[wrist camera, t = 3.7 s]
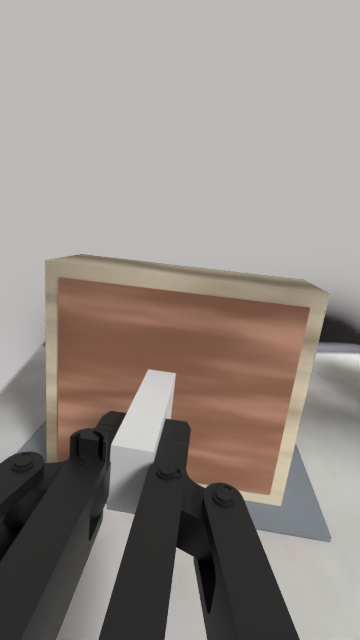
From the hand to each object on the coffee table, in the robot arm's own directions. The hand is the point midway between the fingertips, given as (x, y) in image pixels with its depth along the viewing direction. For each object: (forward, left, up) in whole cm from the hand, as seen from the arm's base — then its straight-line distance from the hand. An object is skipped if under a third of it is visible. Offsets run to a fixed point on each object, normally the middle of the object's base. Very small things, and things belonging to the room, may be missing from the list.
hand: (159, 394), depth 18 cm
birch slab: (-6, -5, -10) cm, 13 cm away
